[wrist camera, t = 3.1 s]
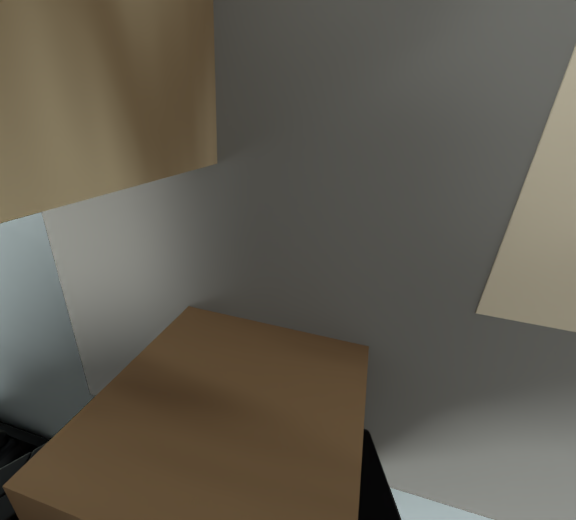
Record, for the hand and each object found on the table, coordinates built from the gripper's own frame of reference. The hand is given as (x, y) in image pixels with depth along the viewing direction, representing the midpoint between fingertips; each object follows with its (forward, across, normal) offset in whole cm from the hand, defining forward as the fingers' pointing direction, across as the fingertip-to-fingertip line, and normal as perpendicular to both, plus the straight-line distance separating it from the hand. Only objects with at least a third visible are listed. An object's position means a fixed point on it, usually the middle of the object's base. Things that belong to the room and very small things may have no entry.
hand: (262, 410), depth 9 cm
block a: (+1, 0, 0) cm, 1 cm away
